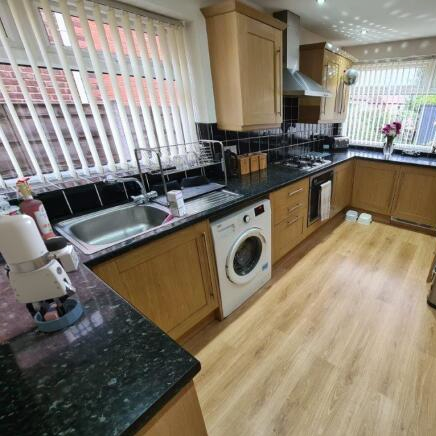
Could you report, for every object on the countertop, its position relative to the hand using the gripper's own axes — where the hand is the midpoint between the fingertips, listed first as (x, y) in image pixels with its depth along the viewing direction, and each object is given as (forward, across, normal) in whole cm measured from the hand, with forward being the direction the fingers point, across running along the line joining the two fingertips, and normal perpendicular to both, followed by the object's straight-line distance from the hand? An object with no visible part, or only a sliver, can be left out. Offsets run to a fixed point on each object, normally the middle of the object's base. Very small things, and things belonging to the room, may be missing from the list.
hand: (56, 315), depth 70 cm
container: (+3, +10, -32) cm, 34 cm away
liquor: (+3, +28, -64) cm, 70 cm away
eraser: (0, 0, 0) cm, 0 cm away
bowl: (+2, 0, 0) cm, 2 cm away
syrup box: (+2, -30, -76) cm, 82 cm away
